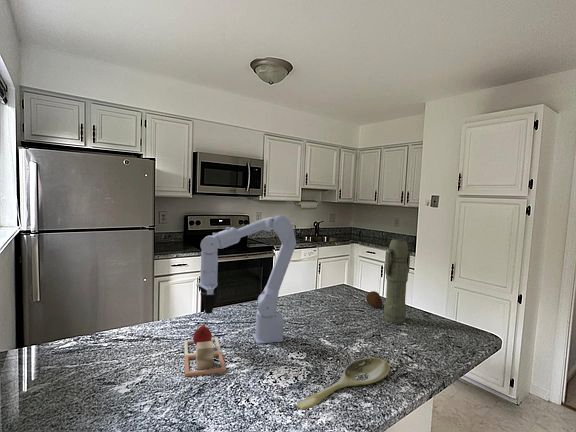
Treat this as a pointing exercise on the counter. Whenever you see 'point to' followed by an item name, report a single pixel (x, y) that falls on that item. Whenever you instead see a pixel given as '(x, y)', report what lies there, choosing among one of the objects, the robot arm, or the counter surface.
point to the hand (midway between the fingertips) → (207, 309)
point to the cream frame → (193, 342)
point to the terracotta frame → (202, 372)
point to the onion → (202, 335)
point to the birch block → (204, 355)
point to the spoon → (351, 379)
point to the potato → (374, 299)
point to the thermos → (396, 280)
